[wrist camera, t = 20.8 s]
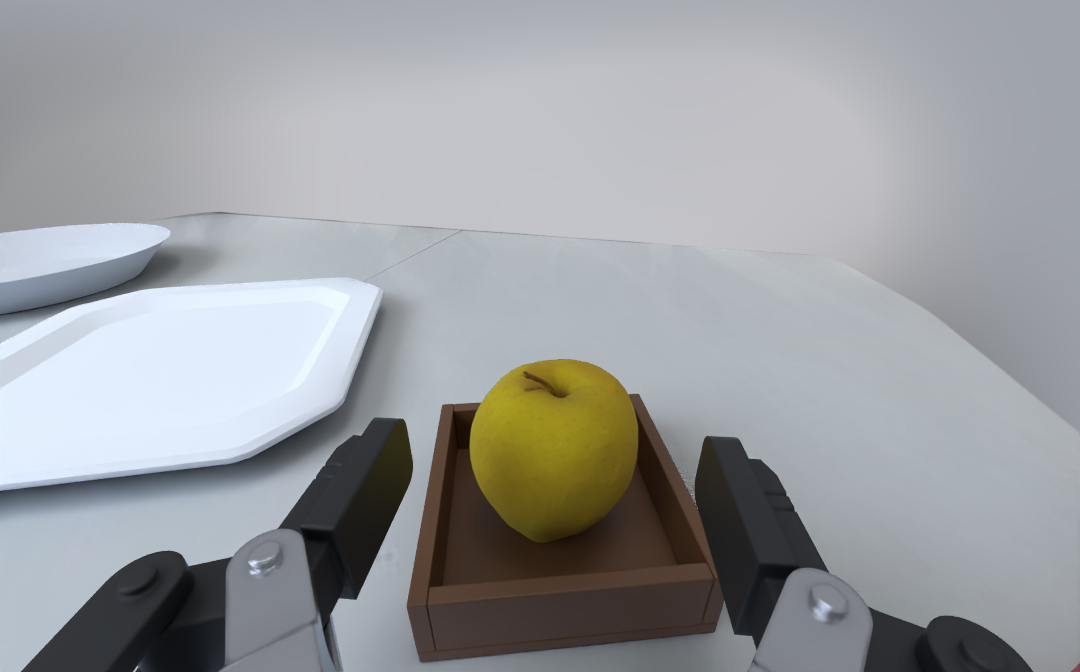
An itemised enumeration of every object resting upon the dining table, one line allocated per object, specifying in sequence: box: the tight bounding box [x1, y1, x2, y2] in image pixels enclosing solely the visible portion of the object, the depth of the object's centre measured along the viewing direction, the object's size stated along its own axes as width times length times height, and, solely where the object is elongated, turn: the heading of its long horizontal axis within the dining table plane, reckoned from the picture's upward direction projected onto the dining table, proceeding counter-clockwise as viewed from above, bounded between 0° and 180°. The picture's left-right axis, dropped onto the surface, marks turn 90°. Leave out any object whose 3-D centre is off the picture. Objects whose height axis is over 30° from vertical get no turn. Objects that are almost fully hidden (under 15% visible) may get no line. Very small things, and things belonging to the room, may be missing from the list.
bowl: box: [0, 223, 170, 314], centre depth 45 cm, size 25×25×4 cm
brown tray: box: [407, 394, 724, 662], centre depth 19 cm, size 10×10×3 cm
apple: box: [470, 359, 638, 543], centre depth 17 cm, size 6×6×8 cm
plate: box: [0, 277, 384, 491], centre depth 30 cm, size 25×25×2 cm
